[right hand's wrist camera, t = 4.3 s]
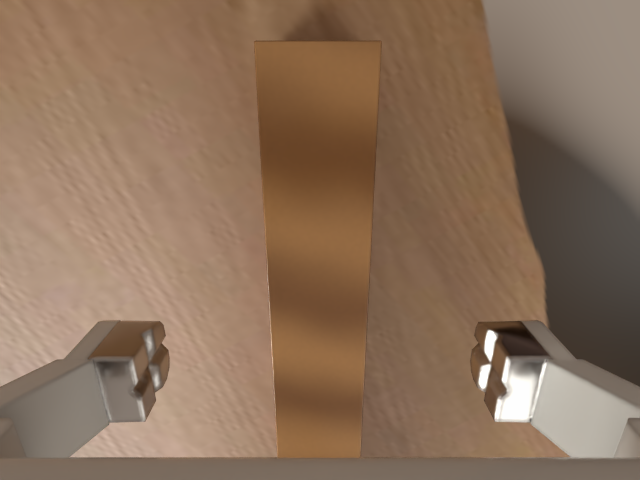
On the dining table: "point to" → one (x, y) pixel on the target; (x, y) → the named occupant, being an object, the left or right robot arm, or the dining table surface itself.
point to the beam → (318, 234)
